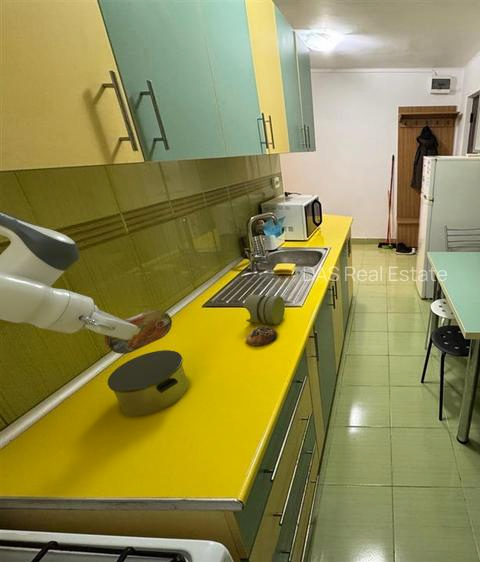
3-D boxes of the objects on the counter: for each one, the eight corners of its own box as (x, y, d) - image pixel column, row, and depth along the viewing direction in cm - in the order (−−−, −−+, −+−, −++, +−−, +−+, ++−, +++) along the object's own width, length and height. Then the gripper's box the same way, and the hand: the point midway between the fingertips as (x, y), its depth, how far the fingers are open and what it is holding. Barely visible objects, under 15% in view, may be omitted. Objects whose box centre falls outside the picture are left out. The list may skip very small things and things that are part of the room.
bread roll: (275, 344, 109) (271, 332, 108) (244, 351, 109) (240, 339, 107) (279, 329, 120) (276, 318, 118) (251, 335, 119) (247, 324, 117)
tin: (114, 360, 76) (104, 331, 72) (107, 355, 77) (98, 327, 74) (175, 332, 88) (169, 307, 85) (168, 329, 89) (162, 304, 86)
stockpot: (105, 402, 85) (92, 376, 81) (167, 367, 99) (158, 343, 95) (143, 429, 77) (130, 400, 73) (205, 386, 90) (197, 361, 87)
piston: (260, 313, 132) (255, 290, 127) (286, 315, 130) (282, 291, 125) (246, 327, 121) (240, 302, 117) (274, 329, 119) (269, 304, 115)
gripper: (101, 309, 64) (162, 327, 76) (60, 291, 73) (120, 310, 85) (83, 338, 62) (149, 351, 74) (43, 316, 71) (107, 331, 83)
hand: (133, 329), depth 80 cm, fingers closed on tin, 2 cm apart
